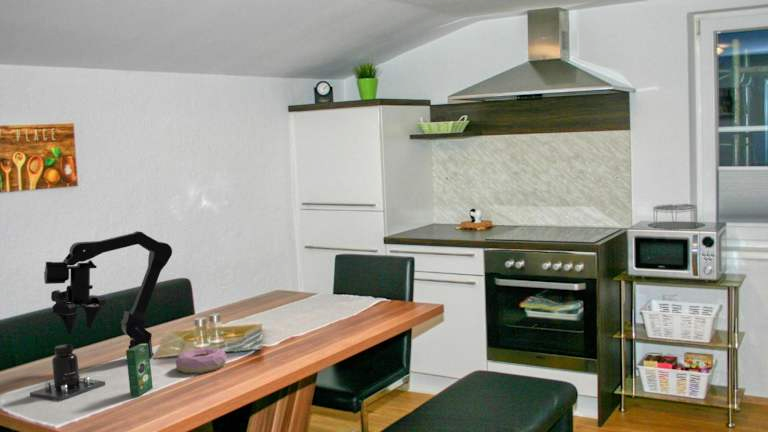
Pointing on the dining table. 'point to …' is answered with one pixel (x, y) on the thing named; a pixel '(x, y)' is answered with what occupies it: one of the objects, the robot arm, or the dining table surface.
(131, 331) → the robot arm
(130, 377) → the coffee box
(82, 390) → the chassis
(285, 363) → the dining table surface
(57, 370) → the supplement bottle
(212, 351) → the donut
